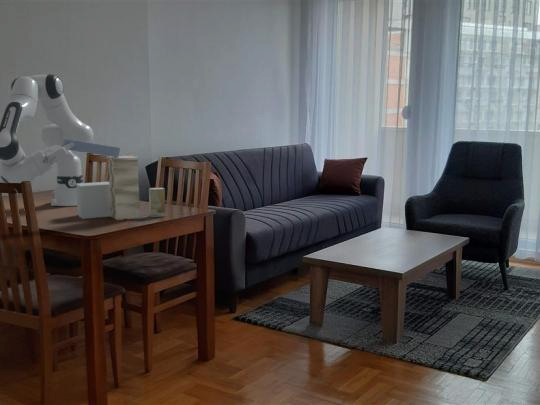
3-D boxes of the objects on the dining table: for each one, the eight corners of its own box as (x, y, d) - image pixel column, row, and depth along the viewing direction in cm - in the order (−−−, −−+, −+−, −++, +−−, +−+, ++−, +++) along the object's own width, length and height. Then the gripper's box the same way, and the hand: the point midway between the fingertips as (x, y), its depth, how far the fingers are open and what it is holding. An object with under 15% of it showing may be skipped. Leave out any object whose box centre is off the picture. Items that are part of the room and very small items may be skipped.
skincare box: (151, 217, 266) (150, 189, 264) (149, 216, 270) (148, 188, 268) (166, 216, 268) (165, 188, 266) (163, 214, 272) (162, 187, 270)
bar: (62, 148, 253) (64, 138, 252) (116, 157, 263) (117, 147, 263) (64, 149, 249) (65, 139, 249) (118, 157, 260) (120, 148, 259)
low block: (77, 215, 273) (75, 183, 271) (109, 212, 279) (108, 181, 277) (82, 218, 264) (80, 186, 262) (115, 215, 270) (113, 184, 268)
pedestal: (109, 216, 269) (106, 156, 265) (134, 214, 274) (132, 155, 270) (115, 220, 259) (112, 158, 255) (141, 218, 264) (139, 157, 260)
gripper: (41, 156, 237) (72, 137, 242) (34, 153, 255) (63, 135, 260) (50, 170, 240) (81, 151, 244) (43, 165, 258) (72, 148, 262)
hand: (72, 142), depth 252 cm, fingers closed on bar, 4 cm apart
